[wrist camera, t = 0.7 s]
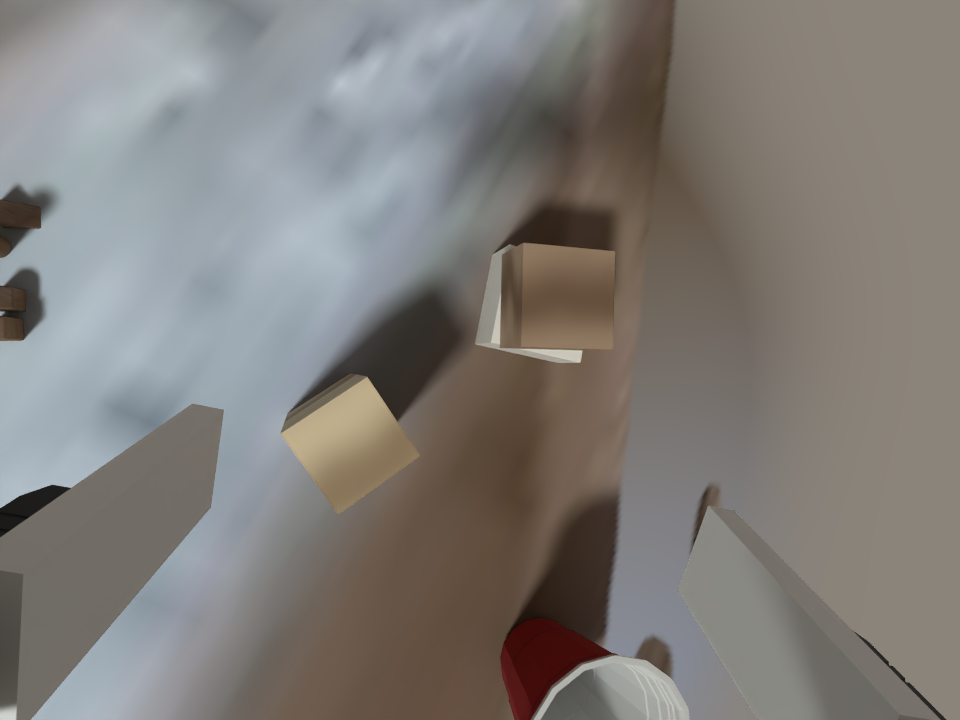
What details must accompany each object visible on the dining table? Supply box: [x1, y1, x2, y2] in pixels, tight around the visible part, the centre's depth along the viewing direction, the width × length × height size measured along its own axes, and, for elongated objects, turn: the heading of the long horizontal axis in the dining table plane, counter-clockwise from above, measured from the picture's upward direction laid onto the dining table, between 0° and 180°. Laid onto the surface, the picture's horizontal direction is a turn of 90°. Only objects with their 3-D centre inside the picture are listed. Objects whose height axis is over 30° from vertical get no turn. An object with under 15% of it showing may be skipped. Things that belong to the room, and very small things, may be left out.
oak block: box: [281, 373, 420, 514], centre depth 33 cm, size 5×5×11 cm
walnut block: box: [500, 243, 615, 351], centre depth 37 cm, size 6×6×4 cm
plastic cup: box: [500, 617, 690, 720], centre depth 37 cm, size 11×11×12 cm
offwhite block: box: [475, 245, 582, 363], centre depth 41 cm, size 7×7×4 cm
